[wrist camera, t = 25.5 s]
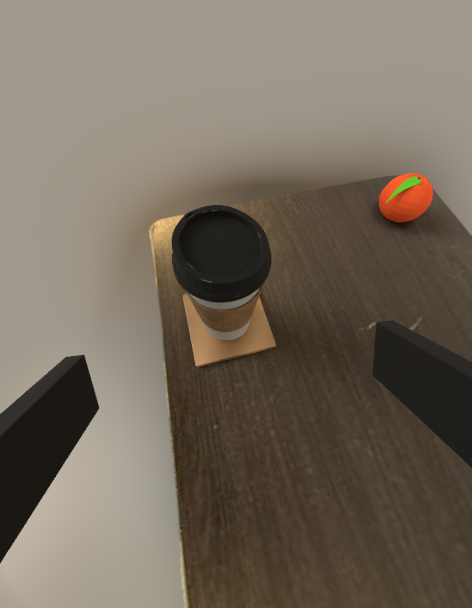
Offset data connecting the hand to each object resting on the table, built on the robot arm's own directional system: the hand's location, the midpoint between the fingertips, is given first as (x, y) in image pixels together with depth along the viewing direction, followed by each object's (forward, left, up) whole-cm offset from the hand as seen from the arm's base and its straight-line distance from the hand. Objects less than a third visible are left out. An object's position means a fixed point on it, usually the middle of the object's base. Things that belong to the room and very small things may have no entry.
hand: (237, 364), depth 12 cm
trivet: (-3, +11, -19) cm, 22 cm away
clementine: (+21, +33, -20) cm, 44 cm away
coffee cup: (-3, +10, -19) cm, 22 cm away
